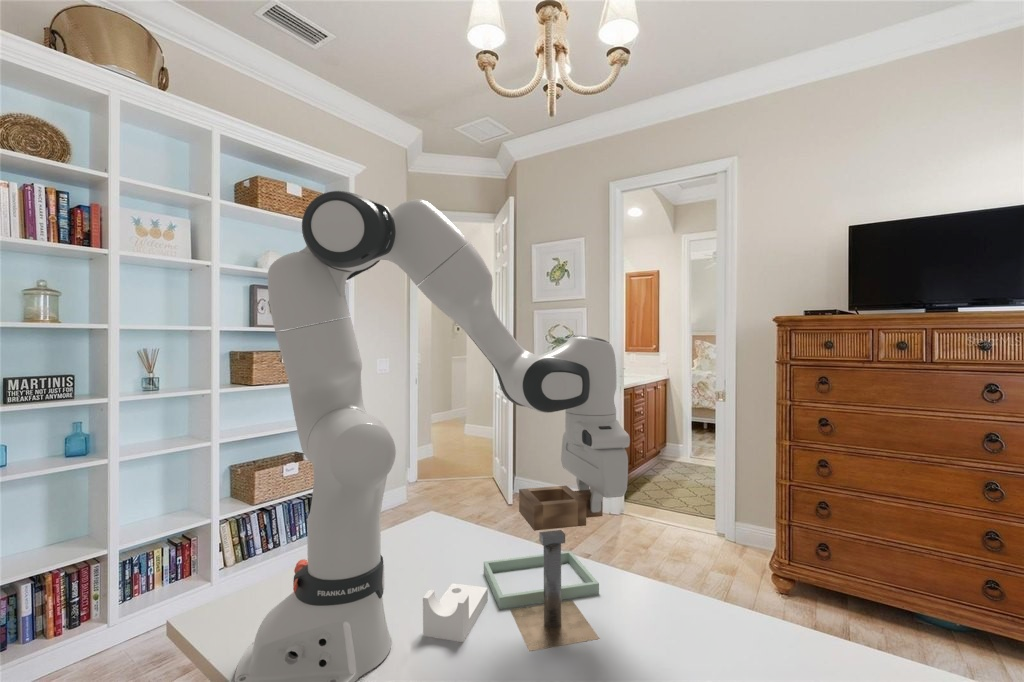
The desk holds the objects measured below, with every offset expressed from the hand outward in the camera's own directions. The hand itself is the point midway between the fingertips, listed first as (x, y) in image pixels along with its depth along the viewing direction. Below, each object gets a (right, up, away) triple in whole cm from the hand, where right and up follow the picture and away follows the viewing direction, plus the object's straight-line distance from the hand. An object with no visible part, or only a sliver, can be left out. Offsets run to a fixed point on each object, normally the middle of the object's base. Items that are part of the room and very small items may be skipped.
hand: (589, 507), depth 84 cm
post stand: (-7, -20, -2) cm, 21 cm away
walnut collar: (-5, -1, -1) cm, 5 cm away
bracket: (-23, -21, +1) cm, 31 cm away
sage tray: (-8, -20, +12) cm, 25 cm away
